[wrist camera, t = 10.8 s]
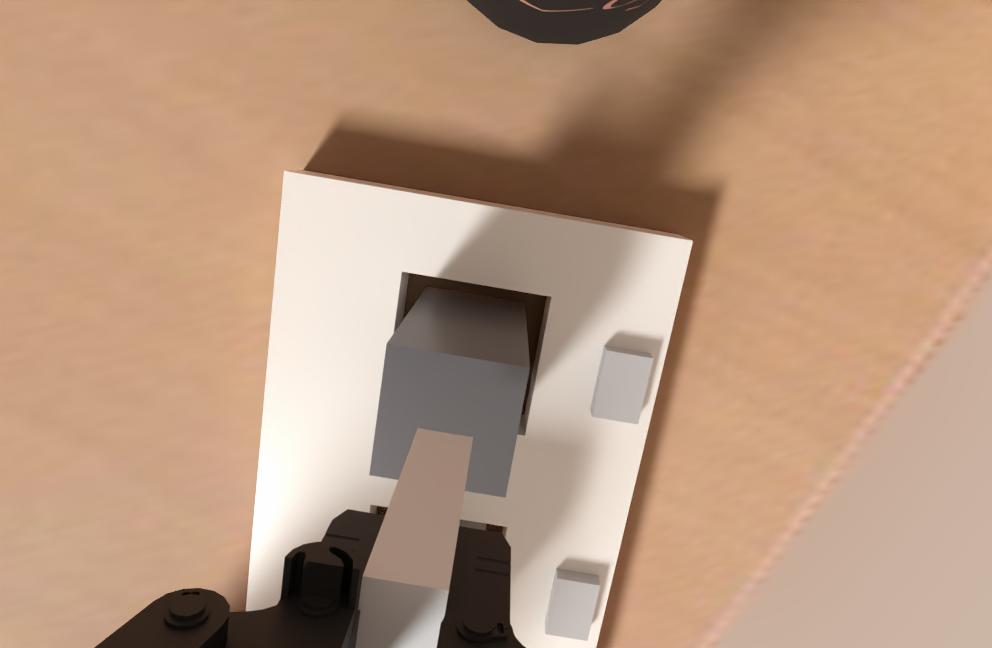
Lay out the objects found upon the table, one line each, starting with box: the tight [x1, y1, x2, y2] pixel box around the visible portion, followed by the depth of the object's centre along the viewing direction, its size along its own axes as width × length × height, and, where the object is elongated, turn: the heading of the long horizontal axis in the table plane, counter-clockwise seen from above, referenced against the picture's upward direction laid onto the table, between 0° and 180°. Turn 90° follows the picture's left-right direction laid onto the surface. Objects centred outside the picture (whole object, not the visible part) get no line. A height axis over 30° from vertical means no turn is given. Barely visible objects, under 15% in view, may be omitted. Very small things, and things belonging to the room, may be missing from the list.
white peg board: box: [246, 170, 693, 648], centre depth 27 cm, size 24×17×12 cm
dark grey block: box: [369, 286, 530, 498], centre depth 27 cm, size 5×5×10 cm
